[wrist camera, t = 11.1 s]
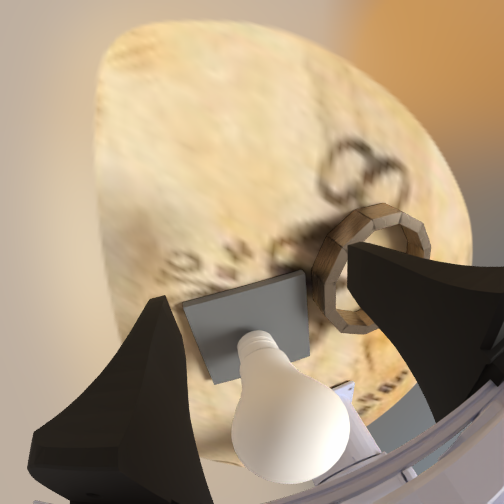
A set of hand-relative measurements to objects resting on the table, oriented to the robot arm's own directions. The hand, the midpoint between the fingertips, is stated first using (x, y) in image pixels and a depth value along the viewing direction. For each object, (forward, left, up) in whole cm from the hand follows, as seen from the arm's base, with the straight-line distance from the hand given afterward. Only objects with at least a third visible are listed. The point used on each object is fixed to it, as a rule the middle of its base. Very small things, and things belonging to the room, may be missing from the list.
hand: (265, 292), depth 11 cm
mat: (-8, 0, -7) cm, 10 cm away
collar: (-5, -9, -7) cm, 13 cm away
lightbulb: (-8, 0, -6) cm, 10 cm away
